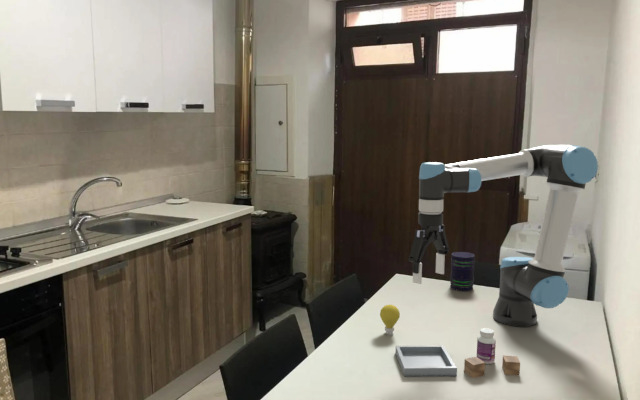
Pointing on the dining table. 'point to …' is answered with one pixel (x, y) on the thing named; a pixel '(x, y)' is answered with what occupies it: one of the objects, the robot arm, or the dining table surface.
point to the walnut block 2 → (511, 365)
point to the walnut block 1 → (474, 367)
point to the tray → (425, 361)
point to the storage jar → (462, 271)
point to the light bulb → (389, 317)
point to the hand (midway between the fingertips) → (428, 278)
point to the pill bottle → (486, 346)
